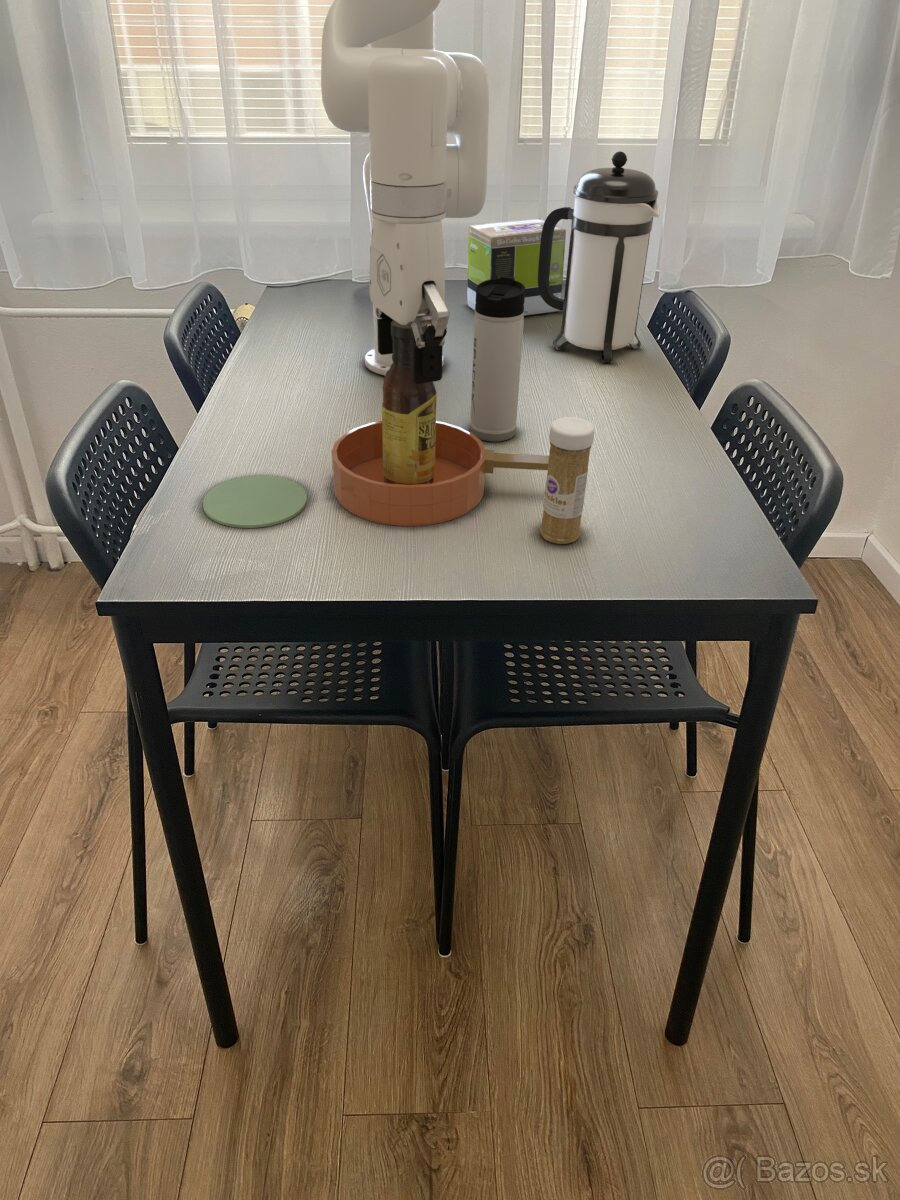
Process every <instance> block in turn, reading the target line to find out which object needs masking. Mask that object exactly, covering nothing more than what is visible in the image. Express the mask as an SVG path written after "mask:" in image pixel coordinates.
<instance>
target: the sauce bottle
mask: <svg viewBox="0 0 900 1200" xmlns="http://www.w3.org/2000/svg"><path fill="white" fill-rule="evenodd" d="M421 327H422V331H423V334H424V332H425V330H426V329H427V324H426V325H421ZM391 335H392V338H393V355H392V360H393V363H392V365H391V367H390V369H389V370H388V371H387V372H386V375H385V376H384V377H383V379H382V388H381V389H382V403H381V411H382V412H381V421H382V432H383V474H384V482H385V483H389V484H403V485H418V484H431V483H433V480H434V479H433V478H434V475H435V441H436V421H437V390H436V387H435V383H434V382H427V383H421V384H416V383H415V382H414V381H413V346H416V345H417V344H416V340H415V337H414V333H413V330H412V326H411V322H408V324H407V325H401V324H399V323H397V322H396V321H394V320H393V321H392V322H391Z"/></svg>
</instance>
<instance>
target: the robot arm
mask: <svg viewBox="0 0 900 1200" xmlns="http://www.w3.org/2000/svg"><path fill="white" fill-rule="evenodd" d="M441 1H442V0H333V2H332V3H331V5H330V6H329V9H328V11H327V15H326V17H325V20H324V24H323V28H322V35H321V58H320V59H321V62H320V63H321V64H320V90H321V91H320V92H321V100H322V106H323V110H324V112H325V116H326V118H327V119H328V121H329V123H330V124H331V125H332V126H333V127H335V128H336V129H338V130H340V131H342V132H345V133H355V134H368V140H369V141H368V142H369V144H368V146H369V152H368V154H366V157H365V159H364V162H363V167H362V178H363V179H362V180H363V187H364V193H365V199H366V205H367V211H368V219H369V228H370V230H369V231H370V240H369V299H370V302H371V303H372V311H373V312H372V315H373V317H372V318H373V347H374V348H372V349H370V350H369V351H367V353H366V354H365V355H364V365H365V367H366V368H367V369H368V370H369V371H371V372H373V373H374V374H378V375H381V376H384V377H385V375H386V372H387V371H388V370H389V369H390V367H391V365H392V363H393V360H392V355H393V338H392V335H391V322H392V321H393V320H394V321H396V322H397V323H399V324H401V325H407V324H408V322H411V326H412V330H413V333H414V337H415V340H416V344H417V345H416V346H413V381H414V382H415V383H416V384H421V383H427V382H433V383H434V382H439V381H441V380H442V379H443V367H444V364H445V356H444V355H443V346H444V345H445V338H446V335H447V334H448V333H447V332H448V330H447V329H448V327H447V326H448V324H449V320H450V311H449V309H448V307H447V306H446V303H445V301H446V300H445V298H446V269H445V267H446V266H445V245H444V234H443V233H444V232H443V222H442V220H444V219H468V218H473V217H475V216H477V215H478V214H480V212H481V211H482V210H483V208H484V205H485V202H486V197H487V186H488V152H489V151H488V150H489V148H488V147H489V114H490V113H489V111H490V97H489V96H490V95H489V94H490V92H489V91H490V89H489V81H488V74H487V70H486V67H485V65H484V63H483V62H482V60H481V59H480V58H479V57H478V56H476V55H474V54H471V53H466V52H446V51H442V50H437V49H435V11H436V9H437V8H438V7H439V5H440V3H441ZM369 44H370V45H369ZM368 45H369V47H366V46H368ZM448 134H450V135H452V136H453V137H454V139H455V143H448V141H447V140H448ZM426 324H427V329H426V330H425V332H424V334H423V331H422V327H421V325H426Z"/></svg>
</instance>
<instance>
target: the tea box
mask: <svg viewBox="0 0 900 1200" xmlns="http://www.w3.org/2000/svg"><path fill="white" fill-rule="evenodd" d="M544 222H545V220H543V219H542V218H530V219H521V220H511V221H509V220H508V221H497V222H489V223H483V224H481V223H480V224H470V225H468V229H467V230H468V232H467V236H468V237H467V279H466V281H467V284H466V285H467V288H466V290H467V295H466V298H467V306H468V307H469V308H470V309H471V310H472V311H475V304H476V302H475V301H476V287H477V285H478V284H480V283H481V282H483V281H486V280H490V279H500V277H501V276H507V277H514V278H515V281H518V282H520V283H522V284H523V285H524V286H525V301H524V316H523V317H525V316H531V315H532V316H533V315H539V314H547V313H554V312H560V311H561V310H558V309H555V308H553V307H551V306H549V305H548V304H546V303H545V302H544V300H543V299H542V297H541V295H540V292H539V288H538V266H539V253H540V242H541V234H542V228H543V225H544ZM566 236H567V229H565V228H562V227H561V226H558V225H556V226H555V228H554V232H553V240H552V251H551V263H550V275H549V286H550V289H551V291H552V293H553V294H554V296H556V297H558V298H560V299H562V294H563V293H562V291H563V281H564V265H565V252H566V238H567V237H566Z"/></svg>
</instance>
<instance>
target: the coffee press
mask: <svg viewBox="0 0 900 1200" xmlns="http://www.w3.org/2000/svg"><path fill="white" fill-rule="evenodd" d="M627 162H628V156H627V154H626V153H625V152H624V151H616V152H615V153H614V154H613V156H612V158H611V163H612V165H613V166H614V167H599V168H593V169H590V170H588V171H586V172H584V173H582V175H581V176H580V177H579V179H578V180H577V183H576V184H575V185H574V186H573V191H572V192H573V196H574V206H573V208H572V207H570V206H563V207H558V208H556V209H553V210H552V211H551V212H550V213H549V214H548V215H547V216H546V218H545V220H544V221H545V222H544V225H543V228H542V234H541V242H540V253H539V266H538V288H539V292H540V295H541V297H542V299H543V300H544V302H545V303H546V304H548V305H549V306H551V307H553V308H555V309H558V310H560V311H561V312H562V314H561V315H562V317H561V325H560V326H561V327H560V331H559V333H558V335H557V336H556V337H555V338H554V340H553V341H552V346H553V348H554V349H555V351H561V350H563V349H564V348H565V347H566V346H567V345H573V346H576V347H579V348H581V349H587V350H592V351H599V353H600V358H601V364H611V363H612V362H613V350H619V349H623V348H625V347H626V346H628V345H629V346H630V347H631V348H632V349H633V350H638V349H640V347H641V346H642V343H641V341H640V339H639V337H638V335H637V326H638V319H639V312H640V306H641V299H642V292H643V285H644V278H645V271H646V265H647V258H648V251H649V245H650V237H651V232H652V229H653V223H654V218H659V217H660V212H661V211H660V206H659V201H658V197H659V190H657V187H656V183H655V180H654V179H653V178H652V177H651V176H650V175H649V174H647V173H646V172H644V171H640V170H637V169H632V168H625V167H624V166H625V165H627ZM562 220H571V223H570V227H571V230H570V235H569V243H568V244H569V246H568V255H567V256H568V257H567V264H566V276H565V285H564V286H565V287H564V297H563V298H561V299H560V298H558V297H556V296H554V294H553V293H552V291H551V289H550V286H549V275H550V263H551V251H552V240H553V232H554V228H555V226H557V224H558V223H559V222H560V221H562ZM562 337H564V339H565V341H563V342H562V343H561V344H560V345H558V346H556V345H557V343H558V342H559V341H560V340H561V338H562ZM634 337H635V338H636V340H637V343H636V344H635V345H632V344H631V343H632V342H633V340H634Z"/></svg>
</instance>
